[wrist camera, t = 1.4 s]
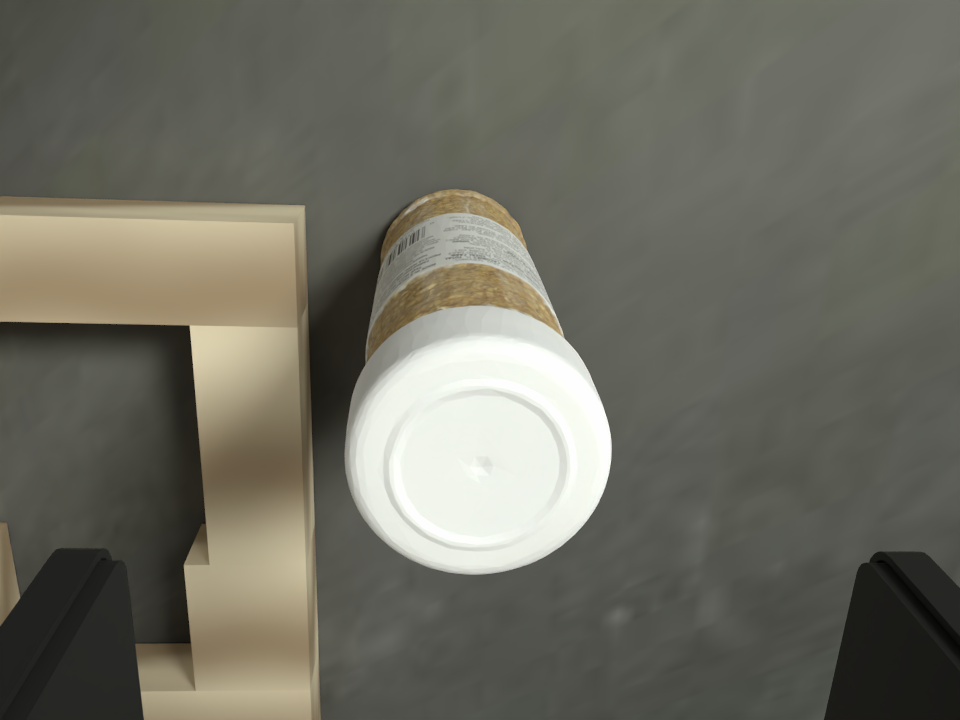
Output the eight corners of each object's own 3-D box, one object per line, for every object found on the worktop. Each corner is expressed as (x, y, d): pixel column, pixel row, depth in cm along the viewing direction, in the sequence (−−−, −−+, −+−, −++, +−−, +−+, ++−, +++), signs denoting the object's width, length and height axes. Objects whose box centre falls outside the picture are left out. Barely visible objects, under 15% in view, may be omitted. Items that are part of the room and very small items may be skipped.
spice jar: (444, 355, 28) (459, 630, 16) (348, 248, 27) (281, 456, 14) (558, 267, 27) (670, 483, 15) (466, 151, 26) (503, 282, 13)
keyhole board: (-191, 190, 25) (-250, 208, 23) (305, 205, 26) (293, 223, 24) (-63, 732, 32) (-98, 785, 30) (320, 728, 33) (313, 779, 31)
